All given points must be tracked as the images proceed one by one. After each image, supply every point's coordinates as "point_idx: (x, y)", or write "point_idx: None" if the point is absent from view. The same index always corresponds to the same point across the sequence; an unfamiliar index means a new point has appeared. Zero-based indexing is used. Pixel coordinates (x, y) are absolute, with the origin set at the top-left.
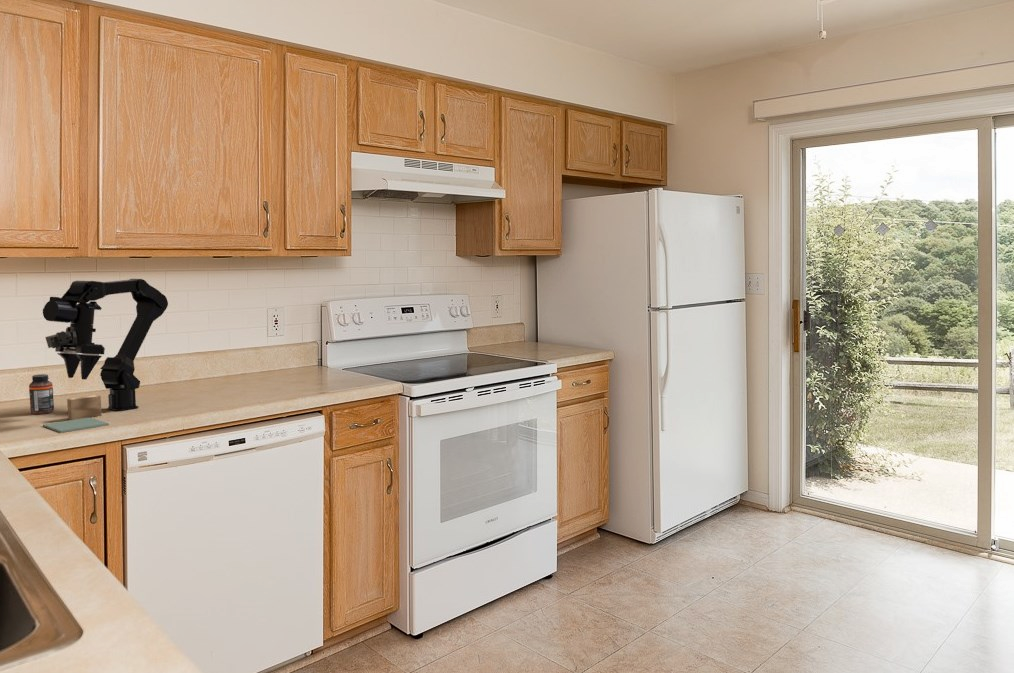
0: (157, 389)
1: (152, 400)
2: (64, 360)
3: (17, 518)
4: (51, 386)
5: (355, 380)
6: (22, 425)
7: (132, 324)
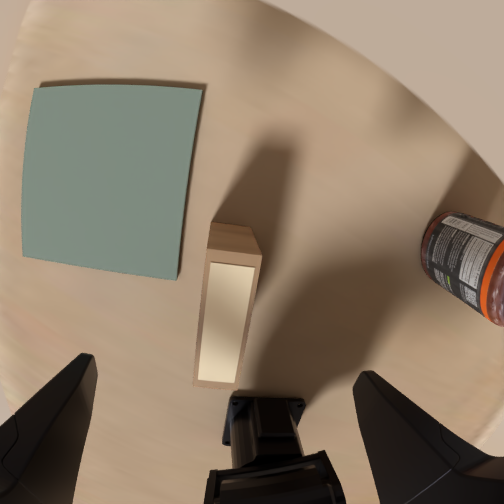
0: None
1: None
2: (475, 452)
3: None
4: (485, 310)
5: None
6: (300, 63)
7: None
